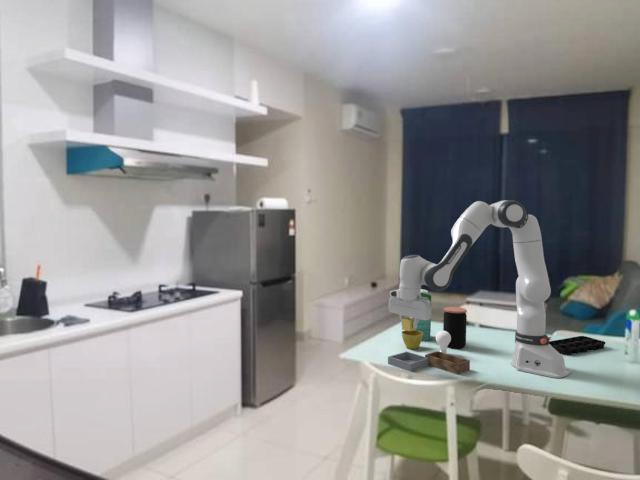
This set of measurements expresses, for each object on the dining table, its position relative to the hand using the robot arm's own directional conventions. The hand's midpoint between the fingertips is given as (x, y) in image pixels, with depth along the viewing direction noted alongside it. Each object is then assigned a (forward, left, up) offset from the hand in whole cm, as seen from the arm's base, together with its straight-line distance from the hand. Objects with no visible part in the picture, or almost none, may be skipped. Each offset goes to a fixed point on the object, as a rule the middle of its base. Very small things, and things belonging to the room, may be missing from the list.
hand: (409, 326), depth 198 cm
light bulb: (0, -24, -17) cm, 29 cm away
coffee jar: (+5, -40, -17) cm, 44 cm away
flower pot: (+16, -22, -17) cm, 32 cm away
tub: (0, 0, -16) cm, 16 cm away
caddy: (-12, -10, -16) cm, 23 cm away
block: (0, 0, -1) cm, 1 cm away
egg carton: (-33, -82, -17) cm, 90 cm away
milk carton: (+25, -39, -17) cm, 49 cm away
